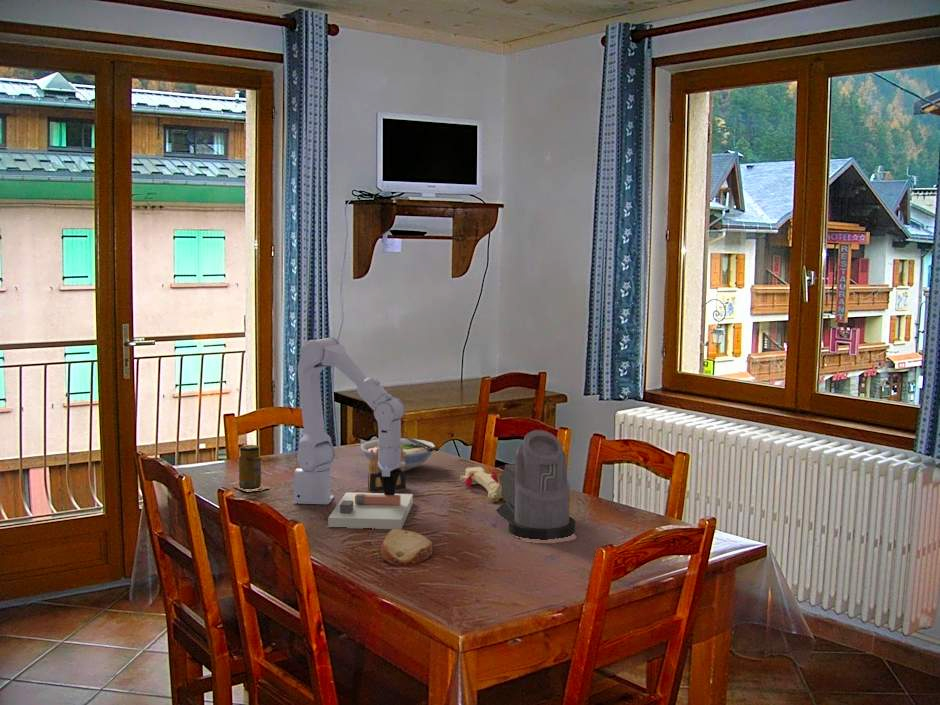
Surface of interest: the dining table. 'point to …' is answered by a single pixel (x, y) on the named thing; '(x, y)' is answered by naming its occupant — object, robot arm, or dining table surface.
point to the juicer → (537, 490)
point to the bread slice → (405, 548)
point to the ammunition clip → (373, 477)
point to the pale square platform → (370, 513)
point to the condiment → (249, 467)
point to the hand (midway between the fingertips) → (389, 497)
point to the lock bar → (378, 499)
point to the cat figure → (484, 482)
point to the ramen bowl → (405, 451)
